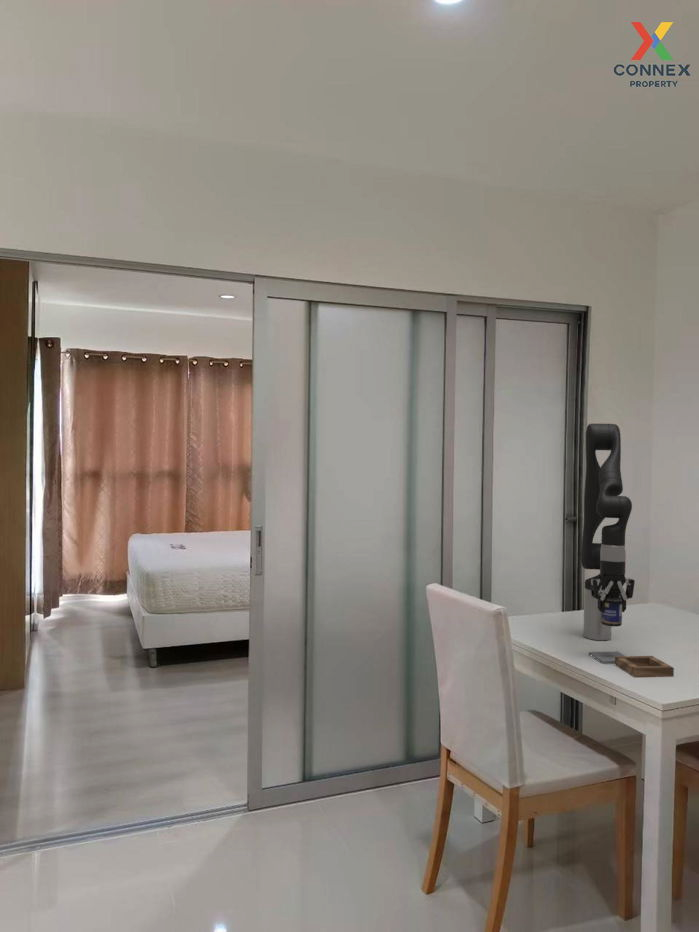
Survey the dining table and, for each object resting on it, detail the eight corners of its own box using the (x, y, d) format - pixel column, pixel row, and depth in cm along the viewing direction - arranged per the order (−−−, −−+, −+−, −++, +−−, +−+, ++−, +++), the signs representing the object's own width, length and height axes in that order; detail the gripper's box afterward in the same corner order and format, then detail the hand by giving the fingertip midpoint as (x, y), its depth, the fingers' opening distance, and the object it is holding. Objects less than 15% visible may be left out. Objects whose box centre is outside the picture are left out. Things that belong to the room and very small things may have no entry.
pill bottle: (598, 625, 226) (599, 590, 226) (603, 621, 231) (604, 587, 231) (619, 627, 223) (620, 592, 223) (623, 624, 228) (624, 589, 228)
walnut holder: (615, 664, 221) (615, 656, 221) (651, 663, 223) (652, 655, 223) (634, 677, 209) (635, 668, 209) (673, 676, 211) (673, 667, 211)
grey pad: (588, 654, 232) (588, 652, 232) (617, 653, 233) (617, 651, 233) (602, 663, 222) (602, 661, 222) (633, 663, 223) (633, 660, 223)
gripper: (628, 557, 231) (627, 608, 232) (585, 557, 230) (584, 609, 230) (640, 560, 224) (639, 614, 224) (596, 560, 222) (595, 614, 223)
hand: (611, 611), depth 227 cm, fingers closed on pill bottle, 6 cm apart
